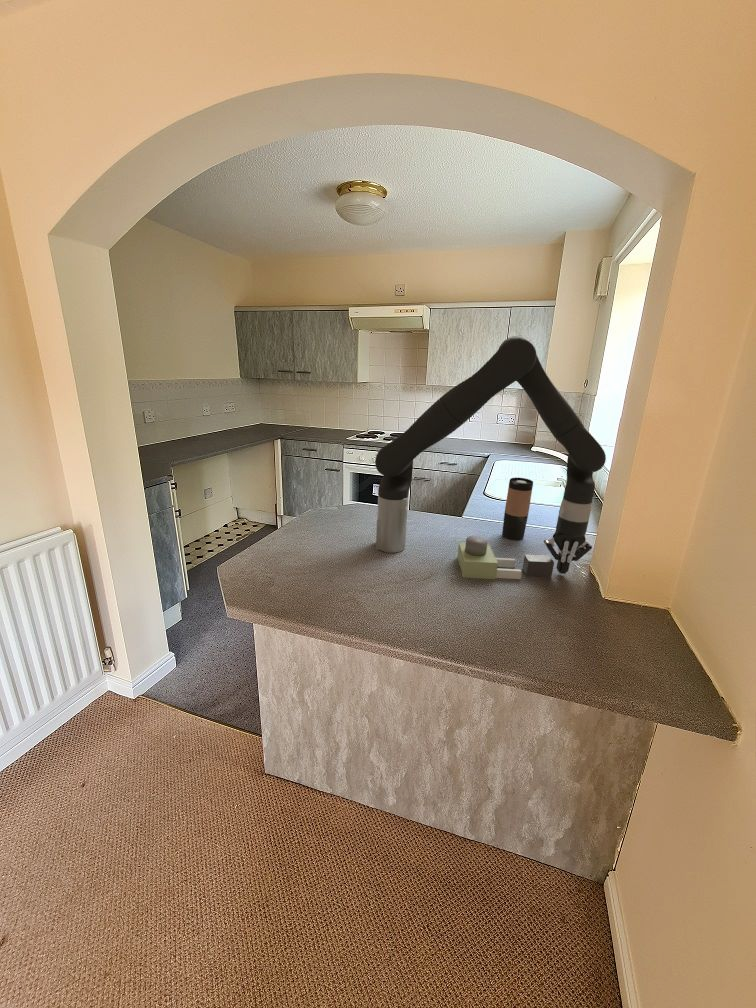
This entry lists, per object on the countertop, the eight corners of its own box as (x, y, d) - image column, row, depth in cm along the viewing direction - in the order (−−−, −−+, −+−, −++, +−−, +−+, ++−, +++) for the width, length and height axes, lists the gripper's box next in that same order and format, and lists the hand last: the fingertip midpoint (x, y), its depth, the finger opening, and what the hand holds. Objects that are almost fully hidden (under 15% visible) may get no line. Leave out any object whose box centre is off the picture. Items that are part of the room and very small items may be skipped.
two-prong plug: (462, 577, 113) (466, 549, 110) (457, 557, 124) (460, 531, 121) (521, 580, 112) (526, 552, 110) (510, 560, 124) (514, 534, 121)
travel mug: (521, 532, 145) (530, 478, 138) (526, 541, 137) (536, 484, 131) (499, 530, 145) (507, 476, 138) (503, 539, 138) (512, 483, 131)
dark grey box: (525, 577, 115) (528, 561, 113) (522, 570, 118) (524, 554, 117) (551, 578, 114) (554, 562, 113) (546, 571, 118) (549, 556, 117)
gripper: (553, 519, 107) (542, 577, 113) (605, 522, 106) (591, 580, 112) (544, 509, 114) (534, 564, 120) (592, 512, 113) (579, 567, 119)
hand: (561, 572), depth 116 cm, fingers closed
